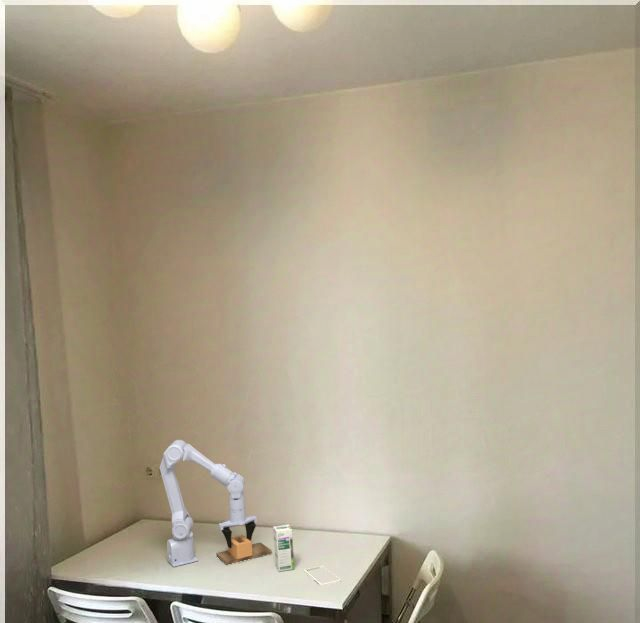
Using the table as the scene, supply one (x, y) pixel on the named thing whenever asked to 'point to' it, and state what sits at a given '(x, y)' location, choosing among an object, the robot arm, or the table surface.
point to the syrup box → (283, 547)
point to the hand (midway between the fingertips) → (239, 545)
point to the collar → (240, 547)
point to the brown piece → (257, 551)
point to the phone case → (326, 570)
